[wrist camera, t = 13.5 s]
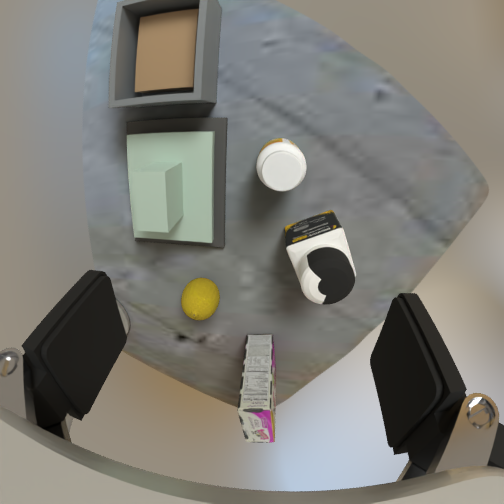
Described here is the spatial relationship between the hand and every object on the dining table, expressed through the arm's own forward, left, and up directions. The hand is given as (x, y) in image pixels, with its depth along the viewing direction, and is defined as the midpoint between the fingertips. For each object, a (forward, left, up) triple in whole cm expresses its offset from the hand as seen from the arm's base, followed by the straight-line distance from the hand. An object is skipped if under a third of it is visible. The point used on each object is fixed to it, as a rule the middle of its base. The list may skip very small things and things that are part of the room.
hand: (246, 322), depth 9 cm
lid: (-3, +13, -29) cm, 31 cm away
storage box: (+15, +13, -30) cm, 36 cm away
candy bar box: (-34, -1, -31) cm, 46 cm away
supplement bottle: (+1, -1, -31) cm, 31 cm away
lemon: (-19, +9, -31) cm, 37 cm away
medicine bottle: (-10, -7, -31) cm, 33 cm away
